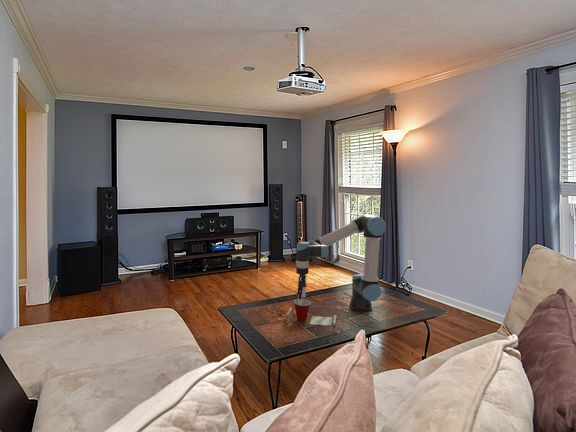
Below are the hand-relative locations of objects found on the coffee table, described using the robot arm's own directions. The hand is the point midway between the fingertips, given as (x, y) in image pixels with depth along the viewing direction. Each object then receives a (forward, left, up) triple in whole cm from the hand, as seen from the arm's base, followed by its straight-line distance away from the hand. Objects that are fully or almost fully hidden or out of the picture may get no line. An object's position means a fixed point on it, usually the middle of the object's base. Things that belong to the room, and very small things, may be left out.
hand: (301, 300), depth 236 cm
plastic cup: (0, 0, -13) cm, 13 cm away
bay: (-6, 0, -13) cm, 14 cm away
